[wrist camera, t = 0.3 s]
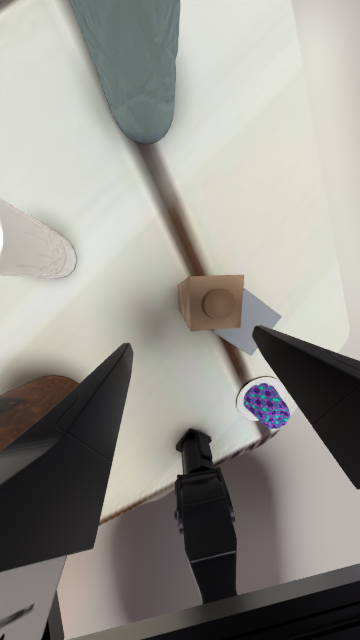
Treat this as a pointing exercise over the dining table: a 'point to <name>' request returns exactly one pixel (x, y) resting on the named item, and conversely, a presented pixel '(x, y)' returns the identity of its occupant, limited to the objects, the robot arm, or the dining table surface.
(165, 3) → the green cup
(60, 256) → the white cup
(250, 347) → the base brick
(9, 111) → the dining table surface
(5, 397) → the brown basket
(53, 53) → the dining table surface
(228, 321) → the column
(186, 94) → the dining table surface
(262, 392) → the purple patterned hat
